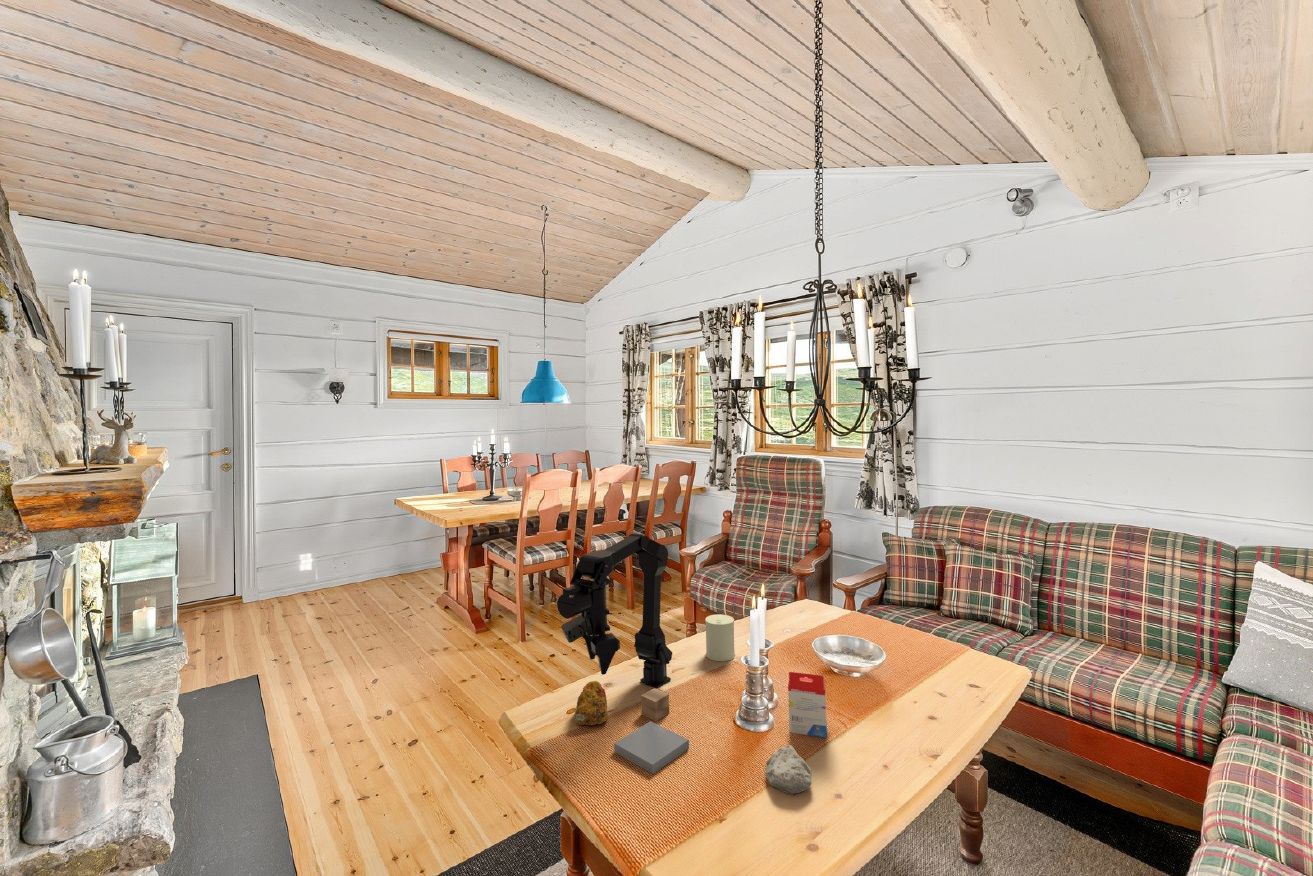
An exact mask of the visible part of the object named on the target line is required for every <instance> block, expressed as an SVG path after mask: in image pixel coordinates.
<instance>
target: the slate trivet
mask: <svg viewBox="0 0 1313 876" xmlns="http://www.w3.org/2000/svg"><path fill="white" fill-rule="evenodd" d="M613 744H614V745H613V750H614V751H613V752H614V753H615V754H617V755H619V756H620V757H622V758H623V759H626V760H628V761H629V762H631V763H632V764H635V765H636V766H638V767H640V768H641V769H644V770H645V771H647V772H648V773H651V774H652V775H653V774H655V773H657V772H658V771H660V770H661V769H662V768H664V767H665V766H667V765H668V764H669V763H671V762H672V761H673V760H675V759H676V758H678V757H679V756H681V755H682V754H684V753H685V752H686V751H687V750H689V749H690V739H689V738H686V737H684V736H682V735H680V734H678V733H676V732H674V731H672V730H670V729H667V728H665V727H663V726H661V725H659V724H657V723H655V722H653V721H652V720H650V721H649V722H647V723H645V724H644V725H642V726H640V727H638V728H637V729H635V730H634V731H632V732H631V733H629V734H627V735H626V736H624V737H622V738H620V739H618V740H617V741H616V742H614V743H613Z"/></svg>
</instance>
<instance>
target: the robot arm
mask: <svg viewBox="0 0 1313 876" xmlns="http://www.w3.org/2000/svg"><path fill="white" fill-rule="evenodd" d="M632 555H636V556H637V558H638V559H637V562H638V566H639V568H640V570H641V572H642V574H643V588H642V589H643V590H642V591H643V592H642V594H643V595H642V625H641V627H640V629H639V631H638V632H635V634H634V646H633V647H634V648H635V653H636V654H637V657H638V659H639V660H643V667H642V668H643V669H642V672H643V673H642V674H643V677H642V678H640V681H639V682H640V683H643V684H646V685H648V686H651V687H653V688H655V689H658V688H659V687H661V686H662V685H664V684H666V683H668V682H670V681H671V680H672V679H671V677H669V676H668V674H667V665H669V664H670V663H671V661H672V657H673V651H672V650H671V649H670V648H669V647H668V646H667V644H666V635H665V633H664V631H663V629H662V627H661V625H660V624H661V594H662V590H661V589H662V574H663V573H664V571H665V569H666V568H667V566H668V558H669V549H668V548H667V547H666V545H664V544H662V543H660V542H657V541H655V540H653V539H652V538H650V537H649V536H648V535H646V534H644V533H643V534H642V533H637V532H633V533H630V534H628V535H627V537H625V538H623V539H621V540H620V541H617V542H616V543H614V544H612V545H611V546H609V547H607V548H606V549H603V550H600V551H599V550H598V551H593V552H592V551H591V552H589V553H585V554H583V555H582V556H580V557H579V560H578V562H577V564H576V567H575V570H574V572H573V574H572V577H571V579H570V582H569V585H572V586H570V587H565V588H563V589H562V594H561V595H559V596H558V599H557V601H556V606H557V607H556V608H557V610H558V611H557V612H558V613H559V614H560V616H561V617H563V618H564V619H570V620H568V621H567V622H565V623H563V624H562V625H561V626H560V629H561V631H562V633H563V635H564V637H565V639H566V641H567V642H568V644H569V643H570V644H571V643H574V642H575V641H577V640H579V639H580V638H582V639H583V640H584V642H585V643H584V644H585V646H586V650H587V653H588V656H589V659H590V660H591V661H592V660H595V659H596V656H597V660H598V664H599V665H598V666H599V669H600V673H601V674H600V675H602V676H604V675H607V672H608V670H609V667H610V665H611V663H612V660H613V658H614V657H615V654H616V652H618V651H619V650H621V641H620V639H619V638H618V637H617V636H616V635H614V634H613V633H612V632H610V633H606V632H609V631H611V626H610V625H609V624H608V615H610V609H608V606H607V605H608V604H607V603H608V602H607V587H606V586H607V585H611V583H612V580H611V579H609V578H608V577H609V576H610V575H611V574H612V573H613V571H614V568H615V566H616V565H618V564H620V563H622V562H623V561H625V560H626V559H628V558H630V557H631V556H632ZM584 578H585V579H584ZM589 579H590V580H589ZM579 614H580V615H579ZM575 616H576V617H575ZM573 617H574V618H573ZM571 618H572V619H571Z"/></svg>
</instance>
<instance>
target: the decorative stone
mask: <svg viewBox="0 0 1313 876" xmlns="http://www.w3.org/2000/svg"><path fill="white" fill-rule="evenodd" d="M765 776H766V779H767V781H768V783H769V784H770V786H772V787H774V788H777V789H779V790H780V791H782V792H785V793H787V794H789V795H790V794H798V793H800V792H801V793H802V791H807V790H808V789H809V788H810V787H811V785H813V784H812V783H813V781H812V769H811V767H810V765H808V764H807V761H805V760H804V759H803V758H802V757H801V755H799V754H798V753H797V751H796V750H795V748H794V746H793V745H790V744H787V745H783V746H781V747H779V748H778V749H777V750H775V751H774V752H773V753H772V754H771V756H770V757H769V758H768V759H767V761H766V768H765Z"/></svg>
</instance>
